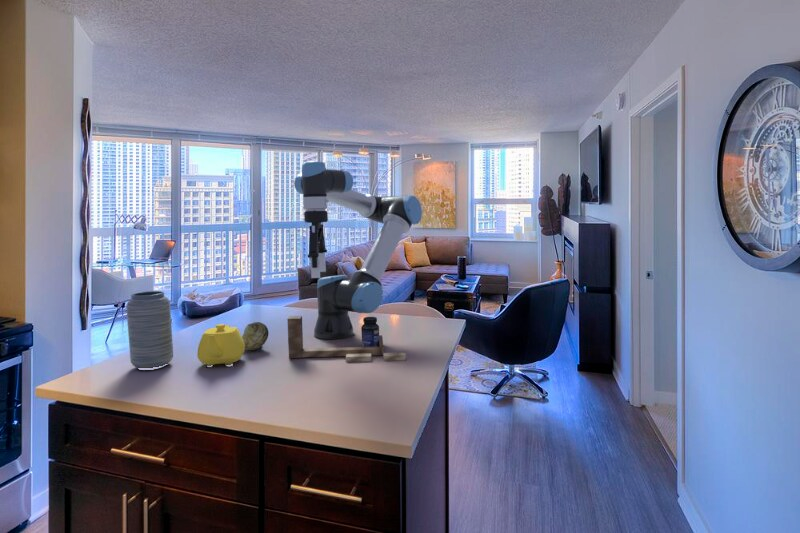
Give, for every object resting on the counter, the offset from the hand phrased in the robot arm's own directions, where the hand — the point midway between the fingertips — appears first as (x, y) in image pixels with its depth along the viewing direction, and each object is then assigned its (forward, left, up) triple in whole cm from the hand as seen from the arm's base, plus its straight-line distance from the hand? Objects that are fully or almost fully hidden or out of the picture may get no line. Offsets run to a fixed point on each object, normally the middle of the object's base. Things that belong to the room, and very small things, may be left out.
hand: (319, 274), depth 147 cm
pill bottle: (+8, +15, -27) cm, 32 cm away
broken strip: (+19, +11, -27) cm, 34 cm away
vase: (-21, -47, -27) cm, 58 cm away
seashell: (-19, -15, -27) cm, 36 cm away
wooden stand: (+3, +5, -26) cm, 27 cm away
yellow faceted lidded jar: (-10, -30, -27) cm, 41 cm away
